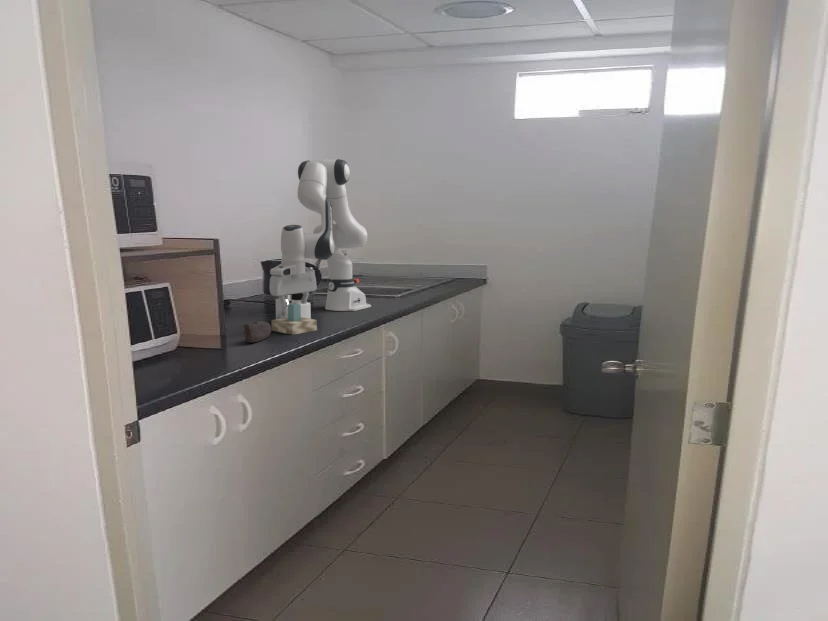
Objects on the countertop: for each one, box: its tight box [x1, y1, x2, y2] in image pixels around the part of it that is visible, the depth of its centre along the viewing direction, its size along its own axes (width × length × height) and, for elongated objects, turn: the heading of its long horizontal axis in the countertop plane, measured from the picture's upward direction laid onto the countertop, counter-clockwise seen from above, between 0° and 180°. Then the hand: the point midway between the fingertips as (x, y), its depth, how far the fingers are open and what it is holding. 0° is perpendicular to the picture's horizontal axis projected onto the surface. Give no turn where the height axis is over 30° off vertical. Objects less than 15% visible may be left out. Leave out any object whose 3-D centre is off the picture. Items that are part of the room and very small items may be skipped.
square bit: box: [288, 304, 301, 322], centre depth 240 cm, size 3×3×10 cm
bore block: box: [271, 317, 318, 336], centre depth 240 cm, size 12×12×4 cm
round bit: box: [275, 297, 290, 320], centre depth 253 cm, size 5×5×10 cm
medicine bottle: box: [289, 293, 312, 319], centre depth 262 cm, size 7×7×12 cm
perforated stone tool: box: [242, 321, 272, 344], centre depth 221 cm, size 15×5×7 cm, turn 158°
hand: (294, 305), depth 239 cm, fingers open, 8 cm apart
